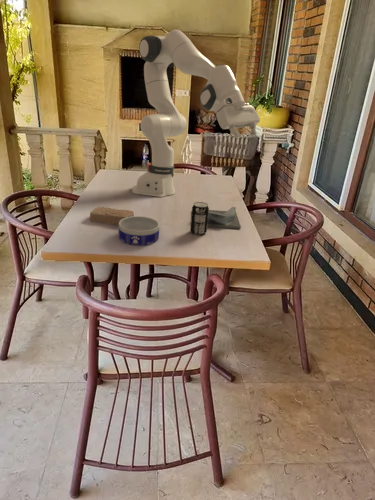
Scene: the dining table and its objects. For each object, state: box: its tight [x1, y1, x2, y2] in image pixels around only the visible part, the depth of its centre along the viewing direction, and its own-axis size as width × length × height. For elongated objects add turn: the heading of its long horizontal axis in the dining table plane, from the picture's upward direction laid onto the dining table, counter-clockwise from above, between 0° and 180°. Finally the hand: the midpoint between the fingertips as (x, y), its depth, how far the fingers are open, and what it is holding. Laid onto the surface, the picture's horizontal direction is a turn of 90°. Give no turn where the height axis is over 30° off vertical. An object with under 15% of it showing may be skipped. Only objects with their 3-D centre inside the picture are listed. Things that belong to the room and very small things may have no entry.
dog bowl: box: [118, 215, 161, 247], centre depth 143 cm, size 15×15×6 cm
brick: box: [89, 206, 135, 226], centre depth 157 cm, size 17×8×5 cm, turn 78°
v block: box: [207, 206, 242, 230], centre depth 166 cm, size 18×20×5 cm
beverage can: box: [189, 201, 210, 236], centre depth 150 cm, size 7×7×12 cm
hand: (246, 136), depth 148 cm, fingers open, 8 cm apart
